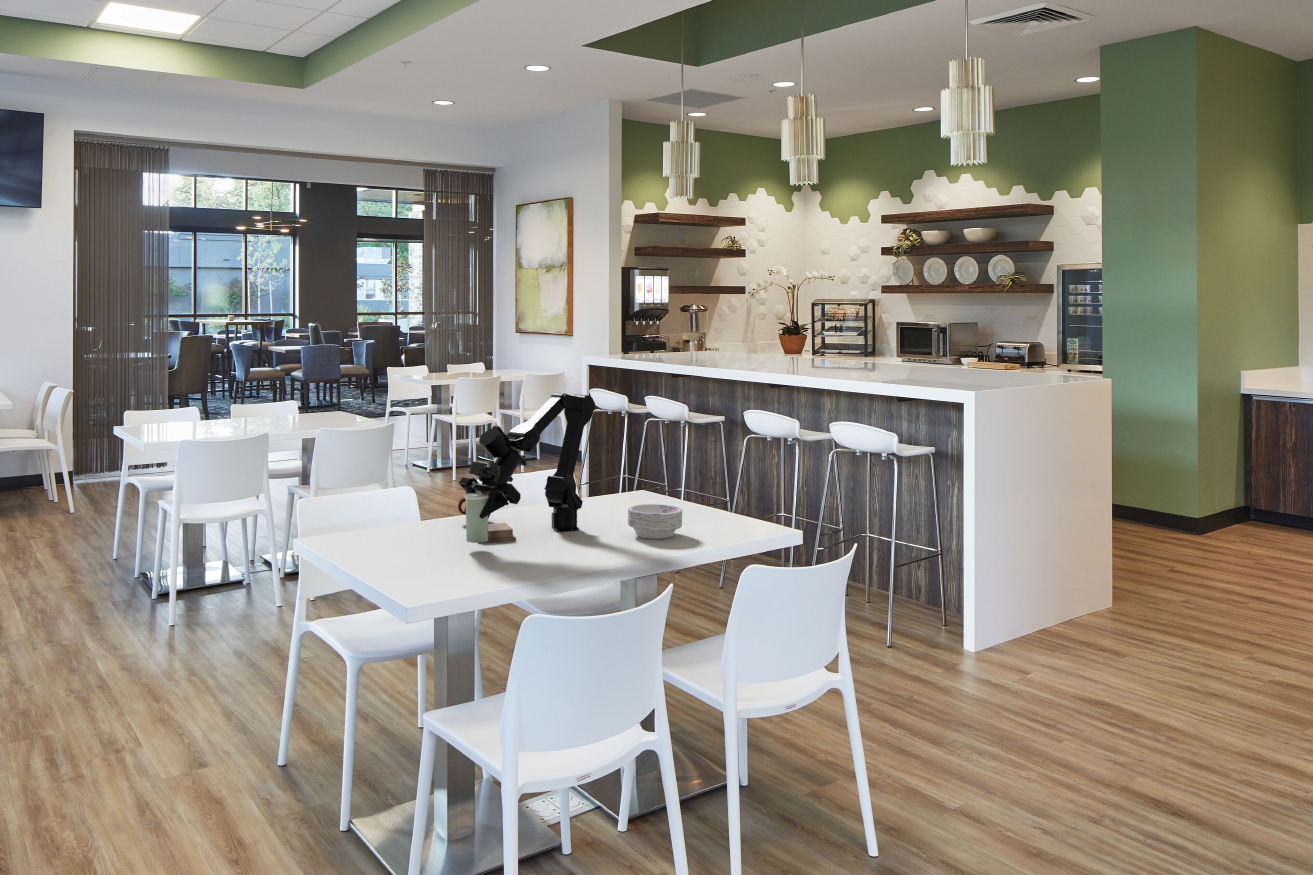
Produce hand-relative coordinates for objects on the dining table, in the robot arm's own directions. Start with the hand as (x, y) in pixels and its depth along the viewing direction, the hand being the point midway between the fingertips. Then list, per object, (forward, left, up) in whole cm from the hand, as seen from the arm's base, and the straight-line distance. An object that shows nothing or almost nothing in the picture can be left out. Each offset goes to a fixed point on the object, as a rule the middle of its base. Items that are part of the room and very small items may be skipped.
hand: (472, 516), depth 258 cm
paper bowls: (-51, -1, -10) cm, 52 cm away
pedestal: (-8, -14, -9) cm, 19 cm away
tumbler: (-1, -1, -7) cm, 7 cm away
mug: (-8, -36, -10) cm, 38 cm away
